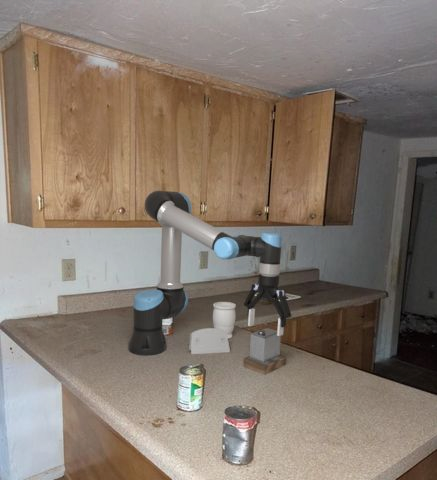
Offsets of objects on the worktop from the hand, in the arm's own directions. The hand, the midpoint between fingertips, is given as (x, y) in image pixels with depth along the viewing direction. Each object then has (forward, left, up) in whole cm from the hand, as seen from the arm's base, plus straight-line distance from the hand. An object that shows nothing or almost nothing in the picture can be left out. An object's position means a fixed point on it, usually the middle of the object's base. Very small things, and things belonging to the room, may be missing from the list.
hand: (265, 330), depth 144 cm
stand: (0, 0, -14) cm, 14 cm away
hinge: (-5, +25, -14) cm, 29 cm away
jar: (+12, +32, -14) cm, 37 cm away
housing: (0, 0, -10) cm, 10 cm away
